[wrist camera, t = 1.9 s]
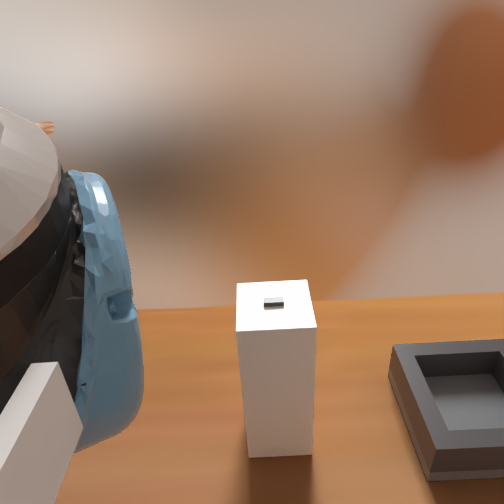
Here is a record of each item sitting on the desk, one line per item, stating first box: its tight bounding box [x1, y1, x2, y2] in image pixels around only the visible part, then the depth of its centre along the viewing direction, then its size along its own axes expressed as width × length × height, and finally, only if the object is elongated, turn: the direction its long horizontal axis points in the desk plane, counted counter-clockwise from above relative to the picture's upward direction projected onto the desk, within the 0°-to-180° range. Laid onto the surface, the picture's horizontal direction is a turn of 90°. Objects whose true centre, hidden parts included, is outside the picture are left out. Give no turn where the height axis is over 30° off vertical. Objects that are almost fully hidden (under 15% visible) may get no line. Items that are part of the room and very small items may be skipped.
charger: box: [236, 280, 317, 458], centre depth 29 cm, size 4×4×12 cm
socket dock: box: [388, 339, 504, 481], centre depth 31 cm, size 9×9×4 cm
